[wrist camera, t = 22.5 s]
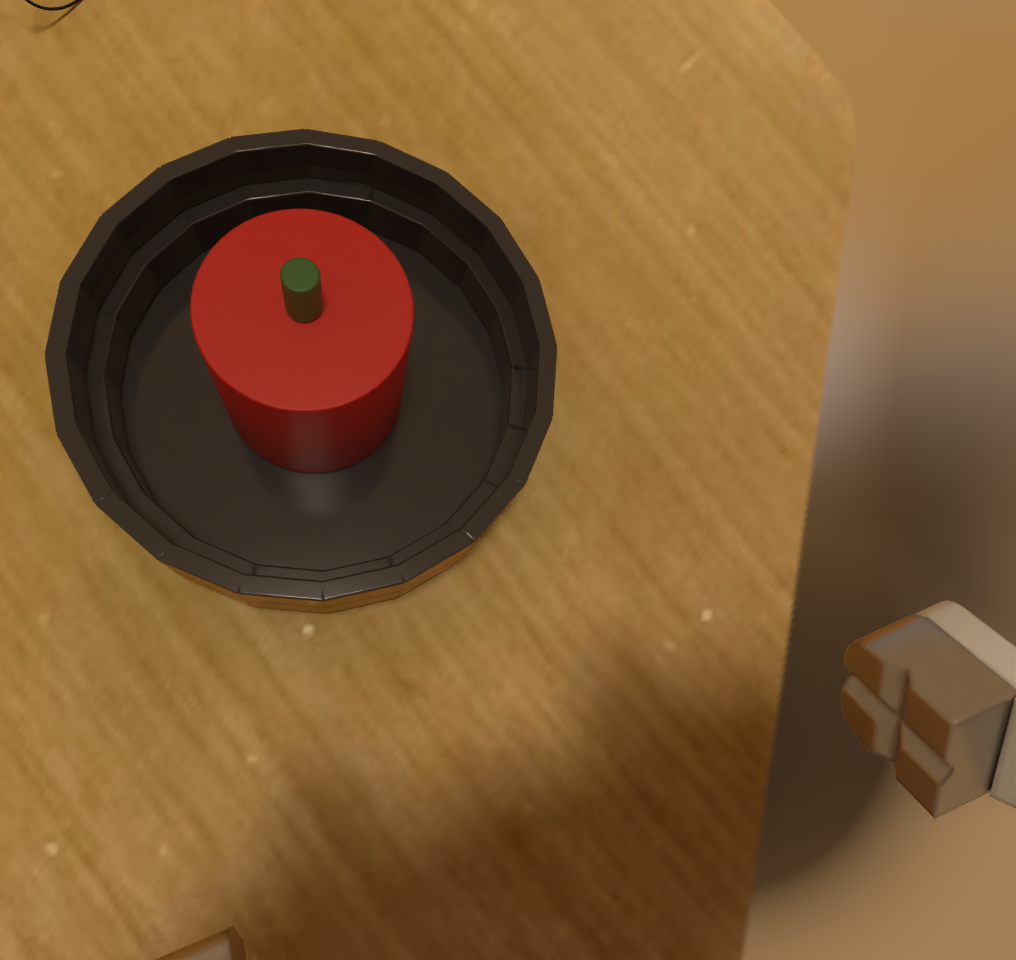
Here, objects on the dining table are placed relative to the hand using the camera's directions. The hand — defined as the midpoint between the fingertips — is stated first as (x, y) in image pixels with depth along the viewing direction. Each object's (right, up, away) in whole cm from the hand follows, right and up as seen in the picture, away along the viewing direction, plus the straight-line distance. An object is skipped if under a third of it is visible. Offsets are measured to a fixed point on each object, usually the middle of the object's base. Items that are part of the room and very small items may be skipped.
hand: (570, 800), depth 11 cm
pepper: (-7, +7, +20) cm, 23 cm away
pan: (-7, +7, +21) cm, 23 cm away
